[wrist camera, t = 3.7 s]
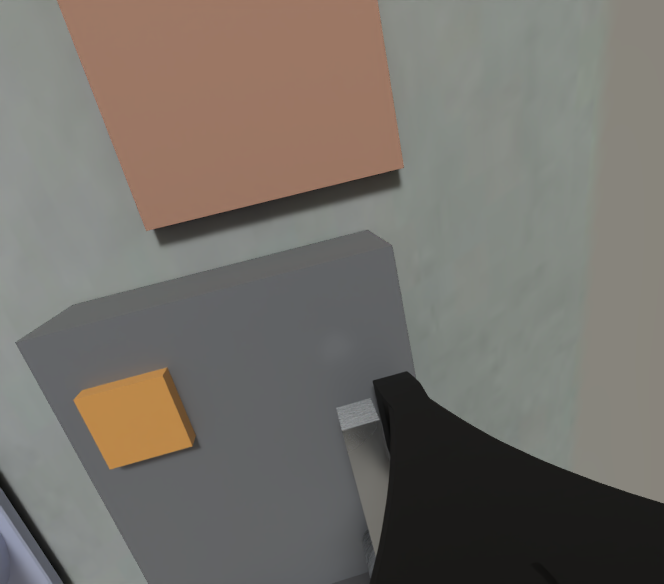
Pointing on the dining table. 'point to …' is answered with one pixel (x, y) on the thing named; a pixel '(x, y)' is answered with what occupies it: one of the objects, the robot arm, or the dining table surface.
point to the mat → (237, 98)
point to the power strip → (231, 409)
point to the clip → (367, 468)
